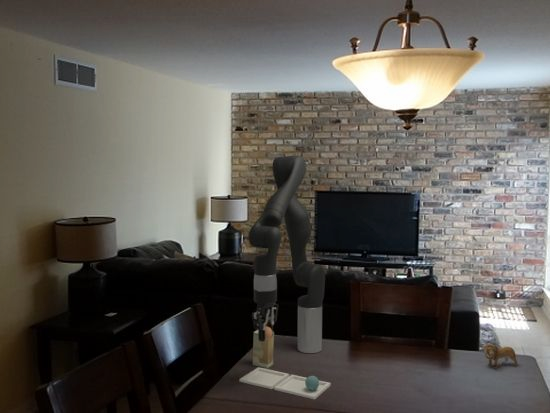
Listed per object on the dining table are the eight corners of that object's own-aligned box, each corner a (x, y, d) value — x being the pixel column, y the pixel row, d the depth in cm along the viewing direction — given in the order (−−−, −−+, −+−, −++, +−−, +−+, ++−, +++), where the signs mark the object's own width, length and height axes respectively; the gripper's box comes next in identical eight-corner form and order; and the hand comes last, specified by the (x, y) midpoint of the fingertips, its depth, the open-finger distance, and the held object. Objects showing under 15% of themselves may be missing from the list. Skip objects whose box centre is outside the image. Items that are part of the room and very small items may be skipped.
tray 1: (258, 370, 193) (258, 367, 193) (289, 377, 188) (289, 373, 188) (239, 382, 183) (239, 379, 183) (271, 390, 177) (271, 386, 177)
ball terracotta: (263, 336, 187) (263, 323, 187) (274, 338, 185) (274, 325, 185) (256, 340, 183) (256, 327, 183) (268, 342, 181) (268, 329, 181)
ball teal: (308, 385, 180) (309, 372, 179) (321, 388, 178) (321, 375, 177) (302, 390, 176) (302, 377, 176) (315, 393, 174) (315, 380, 173)
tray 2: (291, 378, 187) (291, 374, 187) (330, 386, 180) (330, 383, 180) (274, 391, 177) (274, 387, 177) (314, 400, 170) (314, 396, 170)
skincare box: (252, 365, 198) (252, 331, 197) (258, 361, 202) (258, 328, 201) (268, 369, 195) (268, 334, 194) (274, 365, 199) (274, 331, 198)
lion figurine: (490, 371, 194) (491, 346, 193) (478, 366, 199) (479, 341, 198) (521, 365, 200) (522, 341, 199) (510, 360, 204) (511, 336, 204)
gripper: (266, 281, 190) (266, 330, 192) (243, 290, 178) (244, 343, 180) (285, 284, 187) (285, 334, 188) (264, 293, 174) (264, 347, 176)
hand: (265, 338), depth 184 cm, fingers closed on ball terracotta, 4 cm apart
